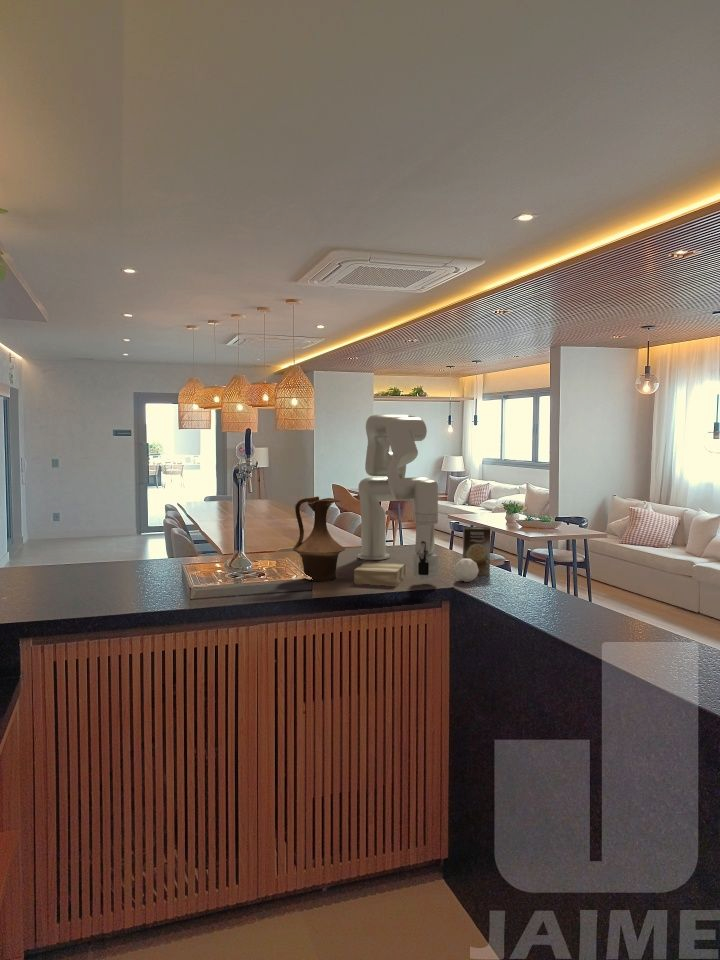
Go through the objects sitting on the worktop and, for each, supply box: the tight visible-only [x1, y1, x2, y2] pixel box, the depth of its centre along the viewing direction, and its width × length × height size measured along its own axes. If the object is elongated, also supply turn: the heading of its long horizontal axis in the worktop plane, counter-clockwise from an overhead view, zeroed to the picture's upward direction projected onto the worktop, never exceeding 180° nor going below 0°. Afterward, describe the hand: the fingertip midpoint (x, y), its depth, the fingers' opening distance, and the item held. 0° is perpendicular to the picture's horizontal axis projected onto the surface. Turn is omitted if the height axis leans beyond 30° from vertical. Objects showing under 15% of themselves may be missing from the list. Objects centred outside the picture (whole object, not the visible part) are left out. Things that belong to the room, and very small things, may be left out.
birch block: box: [353, 561, 406, 587], centre depth 228 cm, size 14×14×5 cm
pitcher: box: [292, 496, 346, 582], centre depth 231 cm, size 18×17×28 cm
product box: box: [413, 552, 439, 580], centre depth 221 cm, size 6×6×7 cm
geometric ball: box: [453, 557, 479, 583], centre depth 225 cm, size 8×8×8 cm
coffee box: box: [462, 526, 491, 576], centre depth 237 cm, size 9×6×16 cm
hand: (425, 571), depth 221 cm, fingers closed on product box, 8 cm apart
